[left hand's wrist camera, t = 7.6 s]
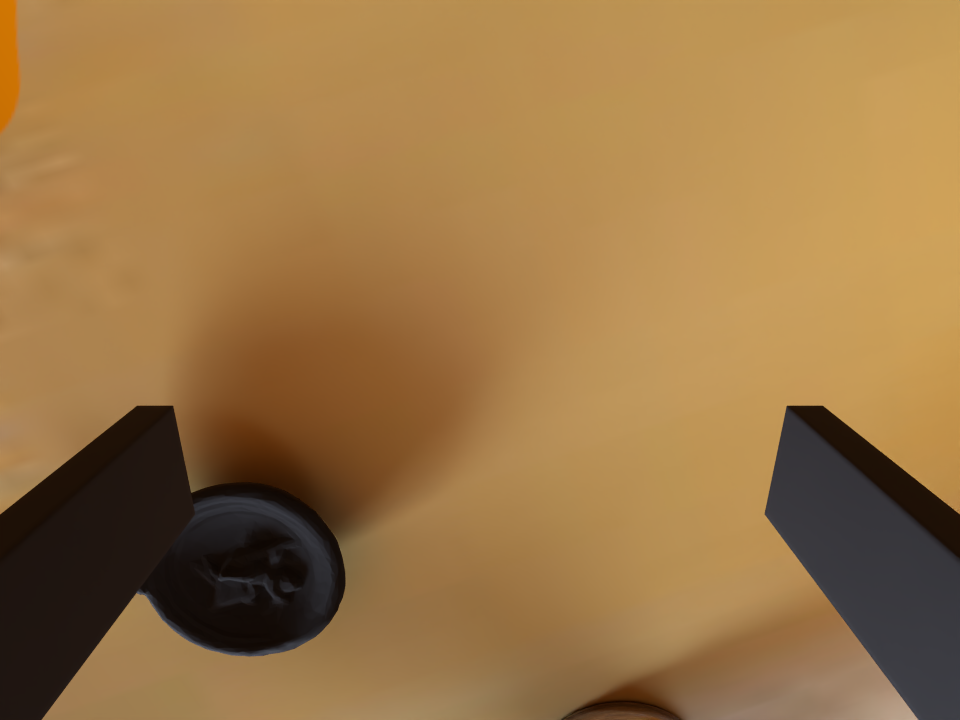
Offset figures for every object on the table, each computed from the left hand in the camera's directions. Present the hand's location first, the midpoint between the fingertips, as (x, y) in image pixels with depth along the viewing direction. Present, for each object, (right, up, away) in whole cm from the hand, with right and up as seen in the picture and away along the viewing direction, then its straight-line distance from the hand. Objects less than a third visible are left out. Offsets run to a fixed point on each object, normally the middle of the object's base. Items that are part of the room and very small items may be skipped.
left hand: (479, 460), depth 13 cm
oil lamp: (-20, -11, +34) cm, 41 cm away
